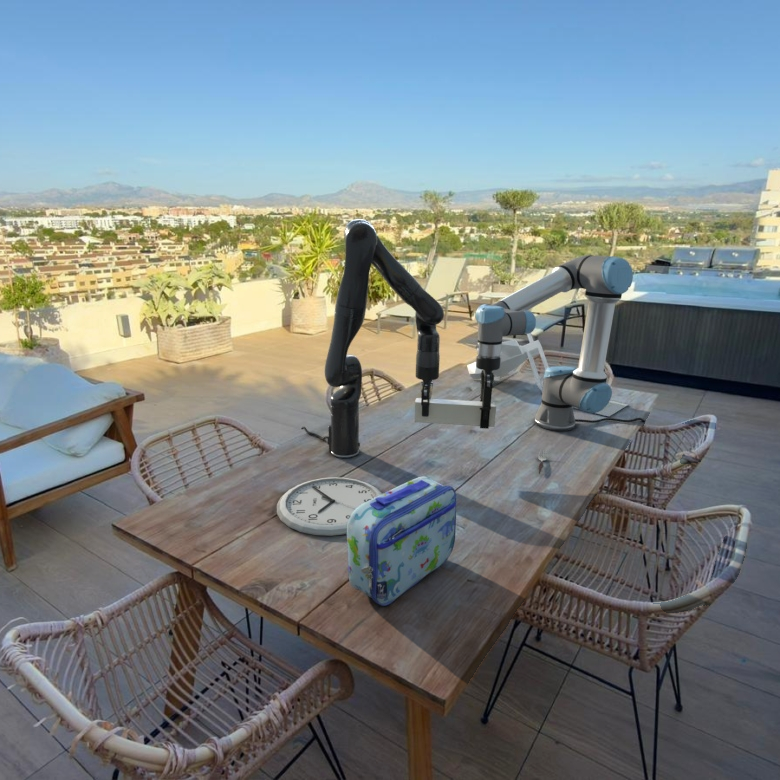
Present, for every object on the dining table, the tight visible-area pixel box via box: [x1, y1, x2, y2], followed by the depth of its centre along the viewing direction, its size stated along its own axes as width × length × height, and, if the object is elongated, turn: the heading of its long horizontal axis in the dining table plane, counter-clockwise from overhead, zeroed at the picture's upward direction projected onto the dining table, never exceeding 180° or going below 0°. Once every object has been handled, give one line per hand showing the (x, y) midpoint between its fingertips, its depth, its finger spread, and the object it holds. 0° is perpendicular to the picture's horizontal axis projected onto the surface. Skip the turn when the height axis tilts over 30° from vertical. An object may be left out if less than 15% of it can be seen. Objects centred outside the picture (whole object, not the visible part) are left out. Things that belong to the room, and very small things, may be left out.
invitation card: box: [573, 400, 629, 418], centre depth 226 cm, size 21×1×15 cm
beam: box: [413, 397, 497, 428], centre depth 171 cm, size 26×4×7 cm, turn 83°
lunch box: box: [346, 475, 457, 607], centre depth 111 cm, size 26×11×21 cm, turn 134°
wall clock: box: [276, 476, 384, 537], centre depth 142 cm, size 30×2×30 cm
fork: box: [538, 449, 548, 474], centre depth 169 cm, size 3×16×2 cm, turn 160°
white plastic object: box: [466, 332, 550, 392], centre depth 255 cm, size 37×45×31 cm
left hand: (425, 413), depth 173 cm, fingers closed on beam, 4 cm apart
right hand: (483, 424), depth 171 cm, fingers closed on beam, 5 cm apart
